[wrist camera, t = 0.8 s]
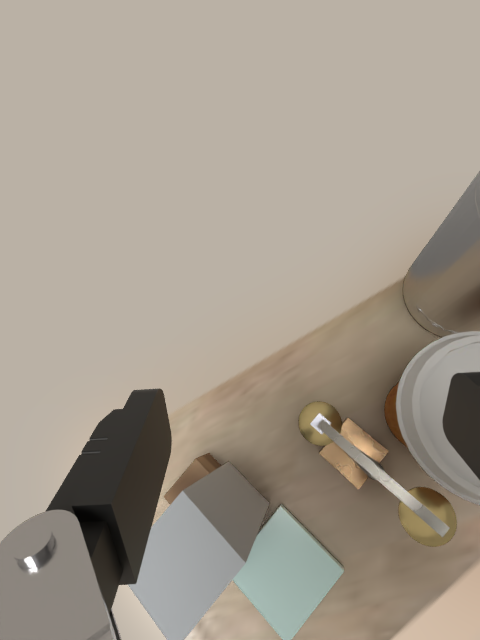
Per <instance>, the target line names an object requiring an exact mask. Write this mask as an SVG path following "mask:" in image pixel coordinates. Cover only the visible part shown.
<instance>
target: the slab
mask: <svg viewBox="0 0 480 640" xmlns="http://www.w3.org/2000/svg"><path fill="white" fill-rule="evenodd" d="M343 572H344V568H343V566H342V565H341V564H340V563H339V562H338V561H337V560H336V559H335V558H334V557H333V556H332V555H331V554H330V553H329V552H328V551H327V550H326V549H325V548H324V547H323V546H322V545H321V544H320V543H319V542H318V541H317V540H316V538H315V537H314V536H313V535H312V534H311V533H310V532H309V531H308V530H307V529H306V528H305V527H304V526H303V525H302V524H301V523H300V522H299V521H298V520H297V519H296V518H295V517H294V516H293V515H292V514H291V513H290V512H289V511H288V510H287V509H286V508H285V507H284V506H283V505H282V504H281V505H280V506H279V507H278V509H277V510H276V511H275V512H274V513H273V515H272V516H271V517H270V518H269V520H268V521H267V522H266V523H265V525H264V526H263V527H262V528H261V530H260V531H259V532H258V534H257V536H256V539H255V541H254V544H253V546H252V549H251V551H250V554H249V556H248V559H247V561H246V563H245V565H244V566H243V567H242V568H241V570H240V571H239V572H238V573H237V575H236V576H235V577H234V578H233V581H234V583H235V584H236V585H237V586H238V587H239V588H240V590H241V591H242V592H243V593H244V594H245V596H246V597H247V598H248V599H249V600H250V602H251V603H252V604H253V605H254V606H255V607H256V609H257V610H258V611H259V612H260V613H261V615H262V616H263V617H264V618H265V619H266V621H267V622H268V623H269V624H270V625H271V627H272V628H273V629H274V630H275V631H276V632H277V634H278V635H279V636H280V637H281V638H282V640H291V639H292V638H293V637H294V636H295V634H296V633H297V632H298V630H299V629H300V628H301V627H302V625H303V624H304V623H305V621H306V620H307V619H308V617H309V616H310V615H311V614H312V612H313V611H314V610H315V608H316V607H317V606H318V605H319V603H320V602H321V601H322V599H323V598H324V597H325V595H326V594H327V593H328V592H329V590H330V589H331V588H332V586H333V585H334V584H335V582H336V581H337V580H338V579H339V577H340V576H341V575H342V573H343Z"/></svg>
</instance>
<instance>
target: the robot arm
mask: <svg viewBox="0 0 480 640" xmlns="http://www.w3.org/2000/svg"><path fill="white" fill-rule="evenodd" d="M403 296H404V300H405V304H406V306H407V308H408V310H409V312H410V314H411V315H412V316H413V317H414V319H415V320H416V321H417V322H418V323H419V324H420V325H422V326H423V327H424V328H425V329H426V330H428V331H430V332H432V333H434V334H436V335H438V336H441V337H444V336H448V335H452V334H456V333H461V332H470V331H480V171H479V173H478V174H477V176H476V177H475V178H474V180H473V181H472V182H471V184H470V185H469V187H468V188H467V189H466V191H465V192H464V194H463V195H462V196H461V198H460V199H459V200H458V202H457V203H456V205H455V206H454V207H453V209H452V210H451V212H450V213H449V214H448V216H447V217H446V219H445V220H444V221H443V223H442V224H441V225H440V227H439V228H438V230H437V231H436V232H435V234H434V235H433V237H432V238H431V239H430V241H429V242H428V244H427V245H426V246H425V247H424V249H423V250H422V252H421V253H420V254H419V256H418V257H417V259H416V260H415V261H414V263H413V264H412V266H411V267H410V268H409V270H408V272H407V274H406V276H405V280H404V284H403ZM442 423H443V430H444V433H445V436H446V438H447V440H448V441H449V443H450V444H451V445H452V447H453V448H454V449H455V450H456V452H457V453H458V454H459V455H460V457H461V458H462V459H463V460H464V461H465V463H466V464H467V465H468V466H469V468H470V469H471V470H472V471H473V473H474V474H475V475H476V476H477V477H478V479H479V480H480V372H465V373H456V374H454V375H453V377H452V378H451V381H450V386H449V391H448V395H447V400H446V405H445V410H444V414H443V420H442ZM171 442H172V441H171V430H170V424H169V419H168V414H167V409H166V403H165V398H164V394H163V391H162V390H161V389H145V390H134V391H133V392H132V393H131V395H130V397H129V398H128V400H127V402H126V404H125V406H124V408H123V409H116V410H113V411H112V412H111V413H110V414H109V415H107V416H106V417H105V418H104V419H103V420H102V421H100V422H99V424H98V425H97V427H96V429H95V430H94V432H93V433H92V435H91V437H90V441H88V442H87V443H86V445H85V447H84V448H83V450H82V454H81V455H79V457H78V458H77V460H76V462H75V463H74V465H73V467H72V468H71V470H70V472H69V473H68V475H67V477H66V478H65V480H64V482H63V483H62V485H61V487H60V489H59V490H58V492H57V494H56V495H55V497H54V498H53V500H52V502H51V504H50V505H49V507H48V508H47V510H46V512H43V513H40V514H38V515H35V516H33V517H31V518H30V519H28V520H26V521H24V522H23V523H22V524H20V525H19V526H17V527H16V528H15V529H14V530H12V531H11V532H10V533H9V534H8V535H7V536H6V537H5V538H4V539H3V540H2V541H1V543H0V640H122V639H121V637H120V633H119V630H118V627H117V624H116V621H115V618H114V614H113V611H112V609H111V608H112V605H113V602H114V598H115V595H116V592H117V589H118V586H119V585H127V584H136V583H137V579H138V575H139V572H140V568H141V564H142V560H143V556H144V553H145V549H146V545H147V541H148V537H149V534H150V530H151V526H152V522H153V518H154V515H155V511H156V507H157V503H158V499H159V496H160V492H161V488H162V484H163V480H164V477H165V473H166V469H167V465H168V461H169V458H170V453H171Z"/></svg>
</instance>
